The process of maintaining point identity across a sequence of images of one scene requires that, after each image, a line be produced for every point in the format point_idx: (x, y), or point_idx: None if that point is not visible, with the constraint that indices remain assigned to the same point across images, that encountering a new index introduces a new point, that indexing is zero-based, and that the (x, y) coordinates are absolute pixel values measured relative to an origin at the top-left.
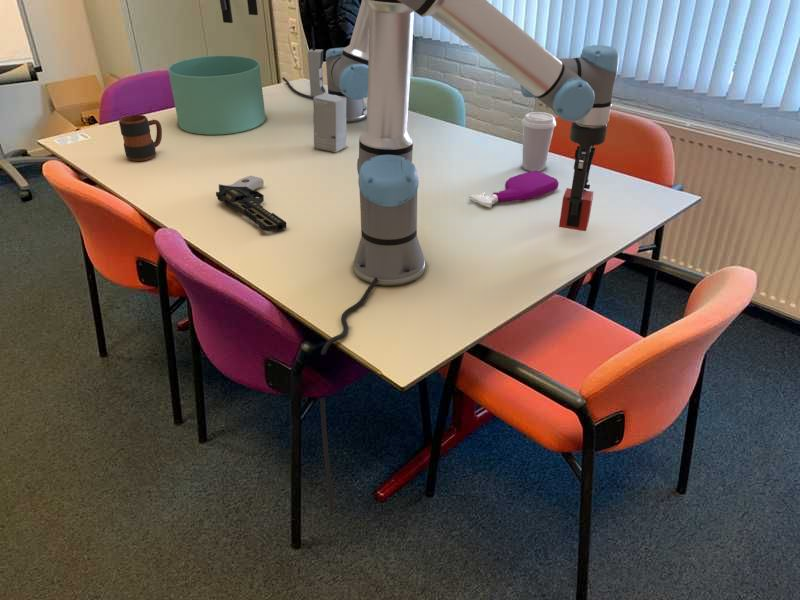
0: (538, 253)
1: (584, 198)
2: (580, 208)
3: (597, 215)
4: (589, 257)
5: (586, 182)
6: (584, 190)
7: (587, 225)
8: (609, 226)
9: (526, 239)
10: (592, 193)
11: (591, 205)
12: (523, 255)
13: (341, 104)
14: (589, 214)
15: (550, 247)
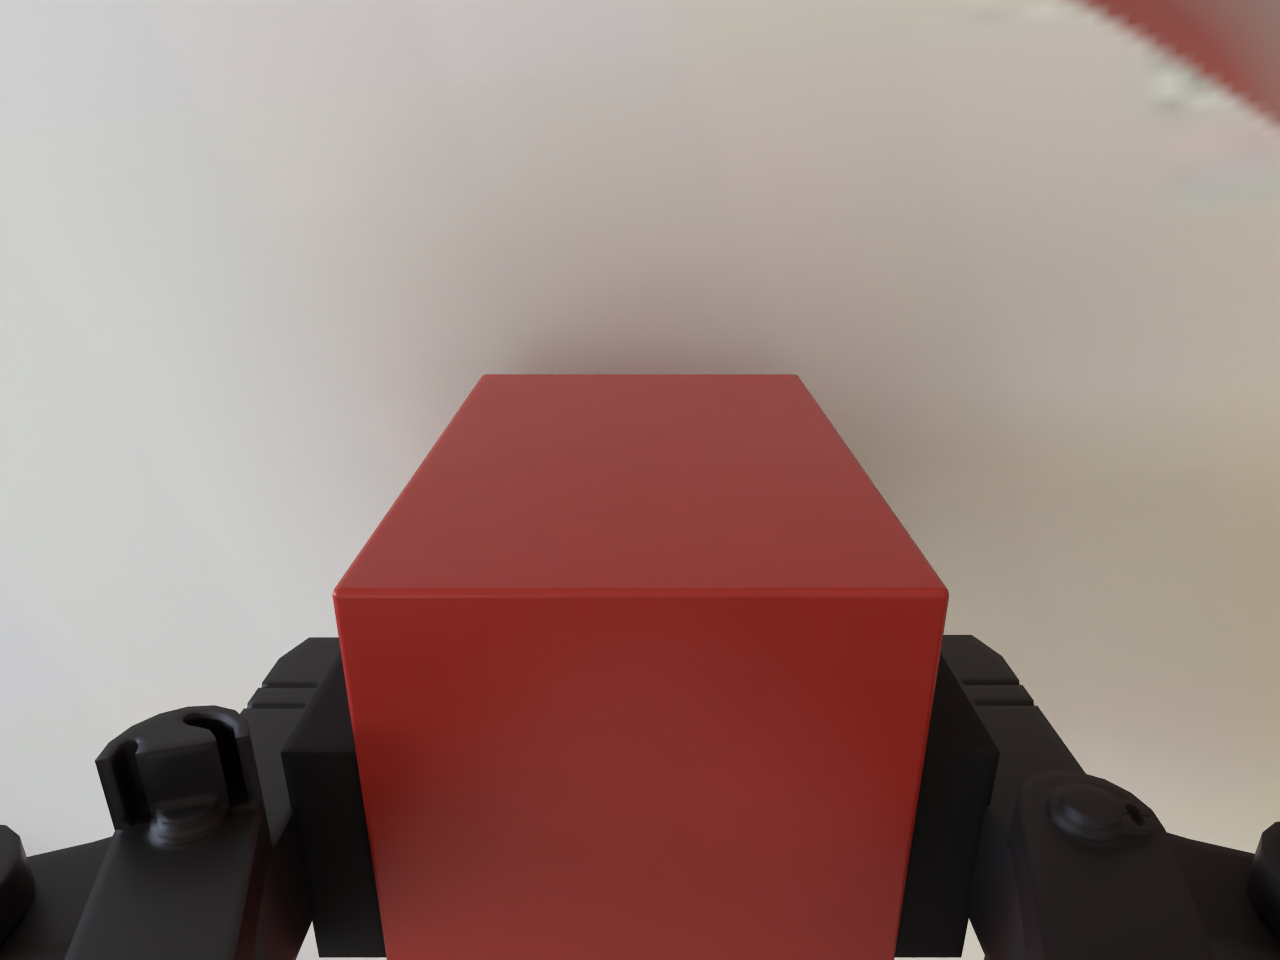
0: (1192, 719)
1: (843, 737)
2: (941, 663)
3: (19, 273)
4: (1214, 232)
5: (234, 945)
6: (367, 788)
7: (645, 377)
8: (265, 75)
9: None
10: (463, 609)
11: (448, 459)
12: (1249, 820)
13: None
14: (614, 425)
15: (1045, 644)
